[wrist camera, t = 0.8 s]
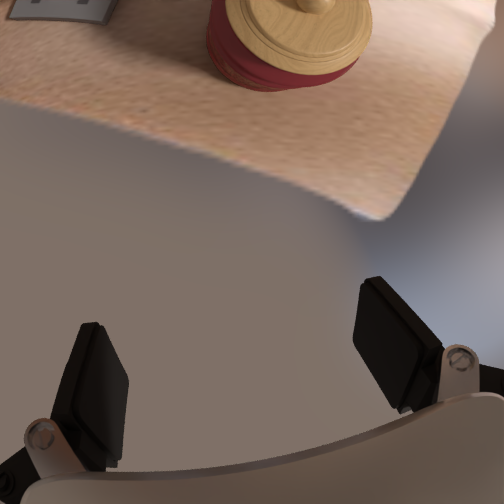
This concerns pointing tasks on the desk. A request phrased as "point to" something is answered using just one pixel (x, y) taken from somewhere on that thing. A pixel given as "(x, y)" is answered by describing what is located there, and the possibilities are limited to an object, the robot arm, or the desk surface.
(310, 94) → the desk surface
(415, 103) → the desk surface
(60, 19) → the board
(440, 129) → the desk surface
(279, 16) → the canister
